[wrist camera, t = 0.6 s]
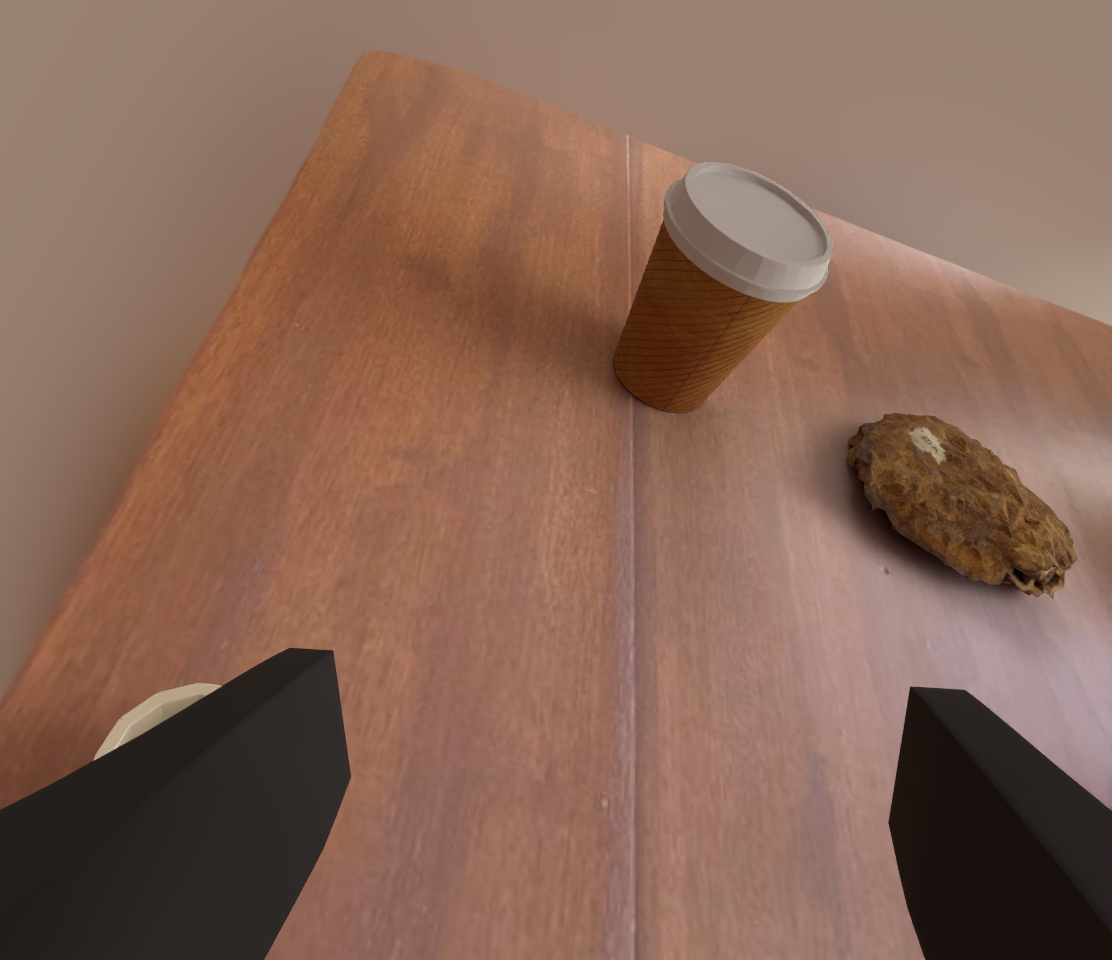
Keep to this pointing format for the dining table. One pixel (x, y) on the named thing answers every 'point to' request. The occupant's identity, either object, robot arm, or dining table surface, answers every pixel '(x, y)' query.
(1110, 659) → the dining table surface
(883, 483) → the decorative rock
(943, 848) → the robot arm
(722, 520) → the dining table surface
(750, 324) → the disposable coffee cup
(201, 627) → the dining table surface
